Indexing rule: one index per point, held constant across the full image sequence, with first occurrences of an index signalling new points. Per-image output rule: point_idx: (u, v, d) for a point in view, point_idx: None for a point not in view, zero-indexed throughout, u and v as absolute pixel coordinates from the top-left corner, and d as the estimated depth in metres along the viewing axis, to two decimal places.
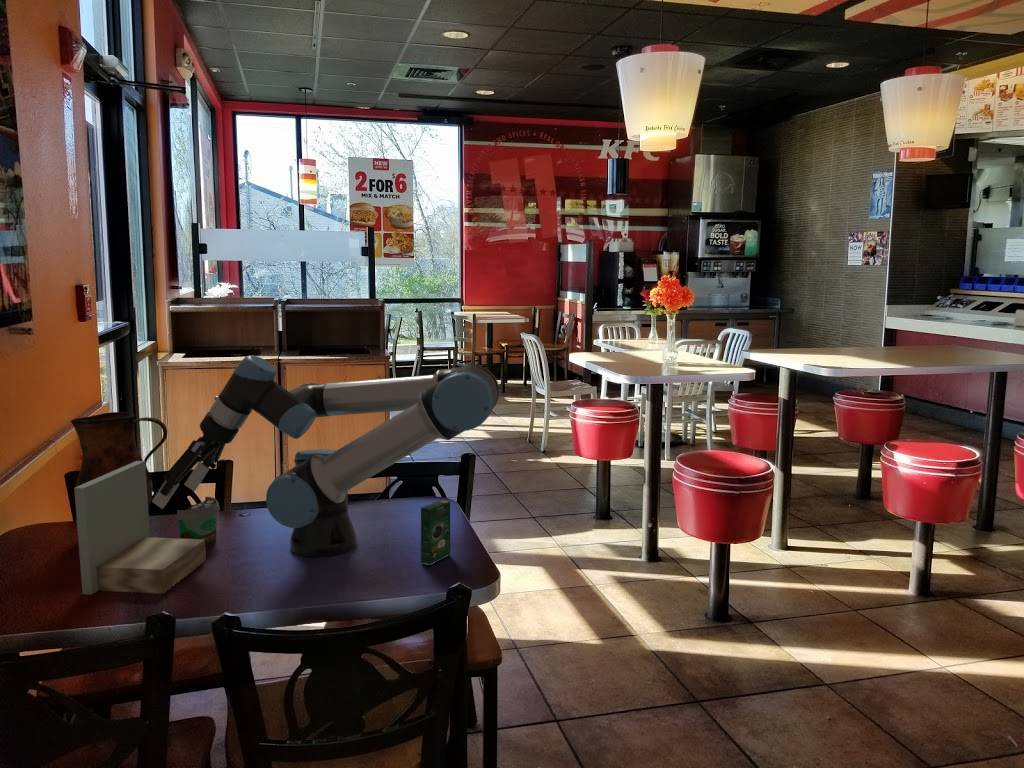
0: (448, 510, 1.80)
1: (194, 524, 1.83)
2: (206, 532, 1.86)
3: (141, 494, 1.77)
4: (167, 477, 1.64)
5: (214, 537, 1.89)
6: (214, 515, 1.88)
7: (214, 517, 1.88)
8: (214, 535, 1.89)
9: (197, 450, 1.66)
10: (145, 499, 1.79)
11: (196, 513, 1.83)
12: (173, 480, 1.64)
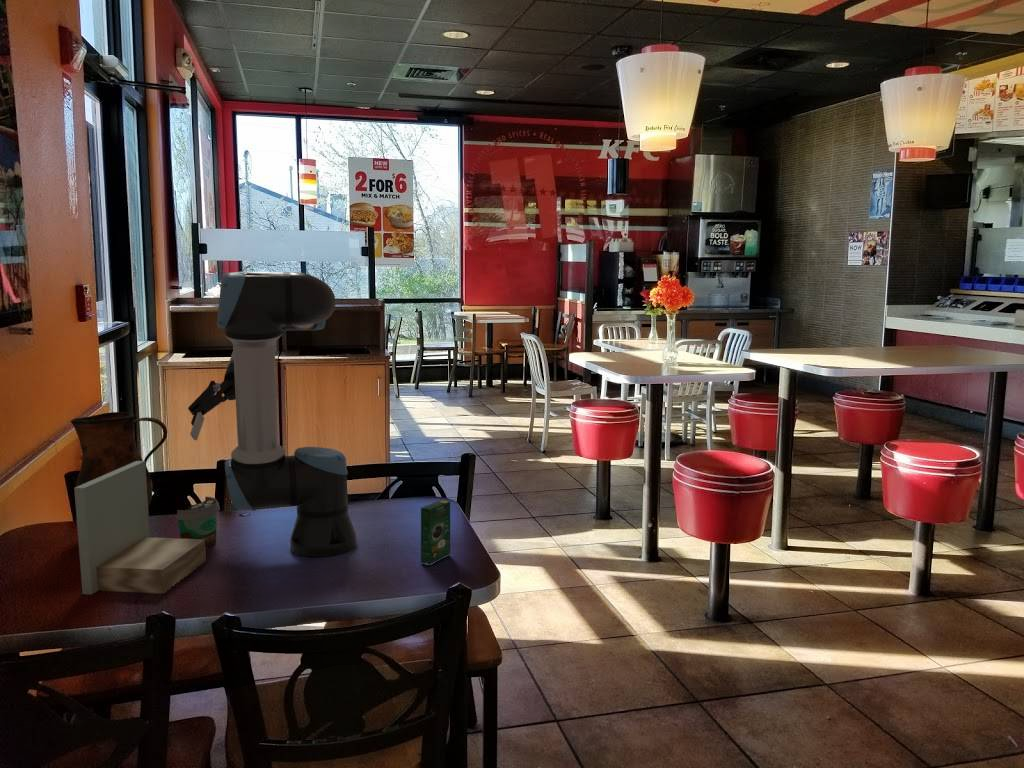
0: (448, 510, 1.80)
1: (194, 524, 1.83)
2: (206, 532, 1.86)
3: (141, 494, 1.77)
4: None
5: (214, 537, 1.89)
6: (214, 515, 1.88)
7: (214, 517, 1.88)
8: (214, 535, 1.89)
9: None
10: (145, 499, 1.79)
11: (196, 513, 1.83)
12: None
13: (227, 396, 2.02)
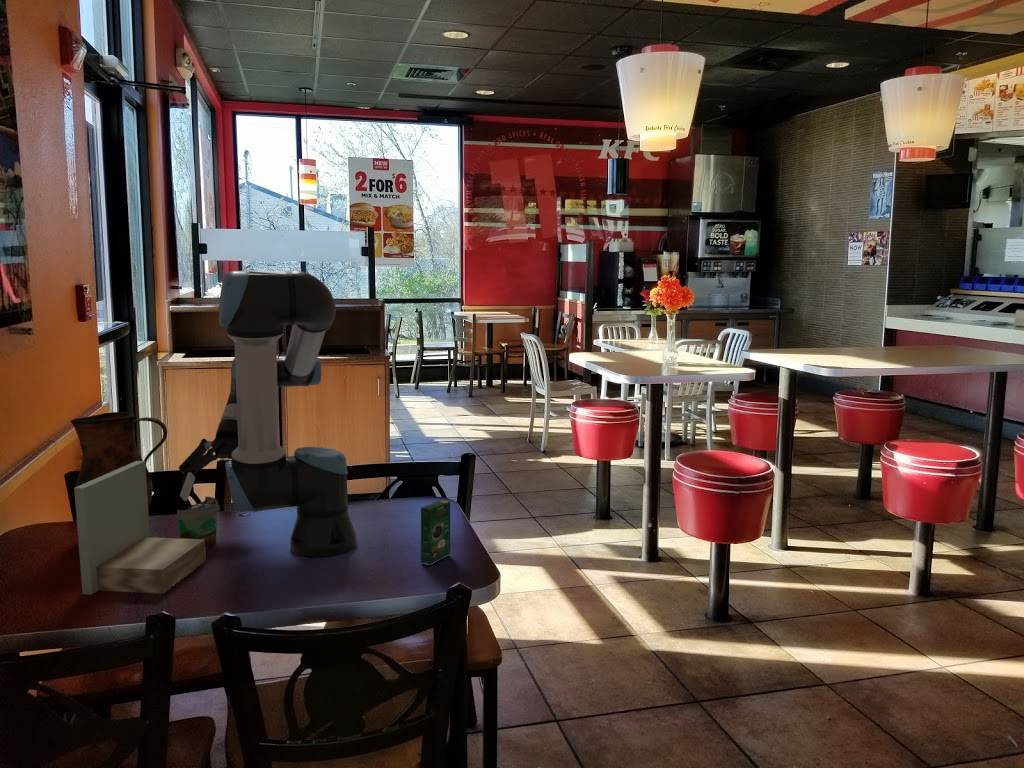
0: (448, 510, 1.80)
1: (194, 524, 1.83)
2: (206, 532, 1.86)
3: (141, 494, 1.77)
4: None
5: (214, 537, 1.89)
6: (214, 515, 1.88)
7: (214, 517, 1.88)
8: (214, 535, 1.89)
9: None
10: (145, 499, 1.79)
11: (196, 513, 1.83)
12: None
13: (218, 455, 1.99)
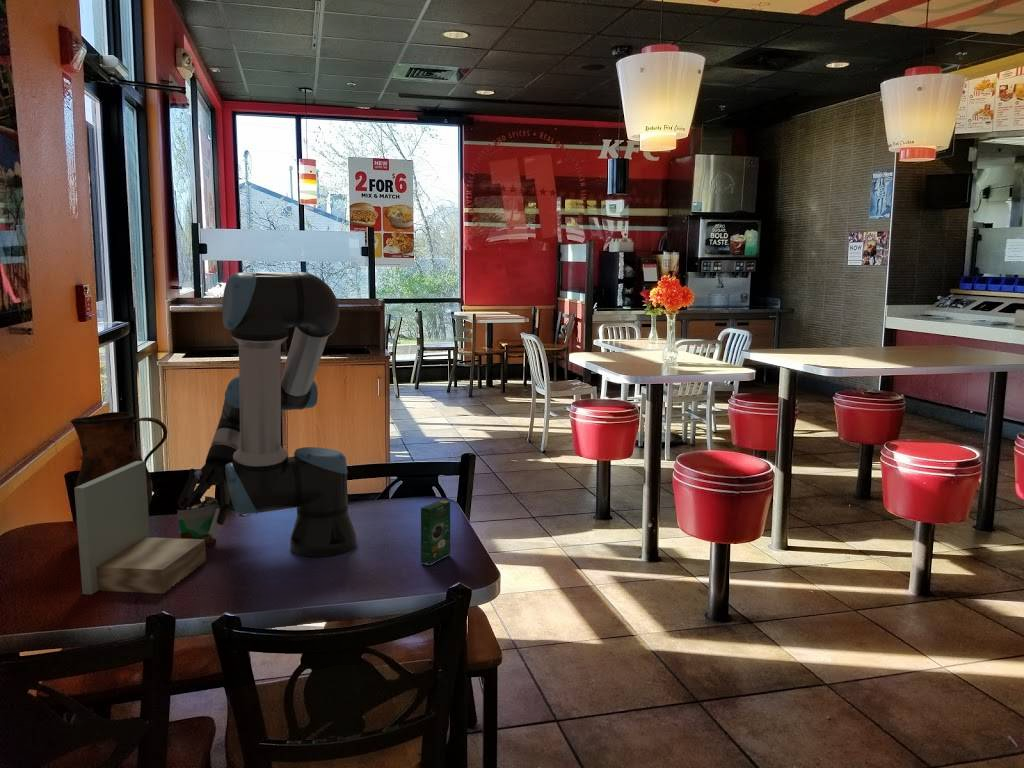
0: (448, 510, 1.80)
1: (194, 524, 1.83)
2: (206, 532, 1.86)
3: (141, 494, 1.77)
4: None
5: None
6: None
7: None
8: None
9: None
10: (145, 499, 1.79)
11: (197, 513, 1.83)
12: None
13: (208, 482, 1.92)
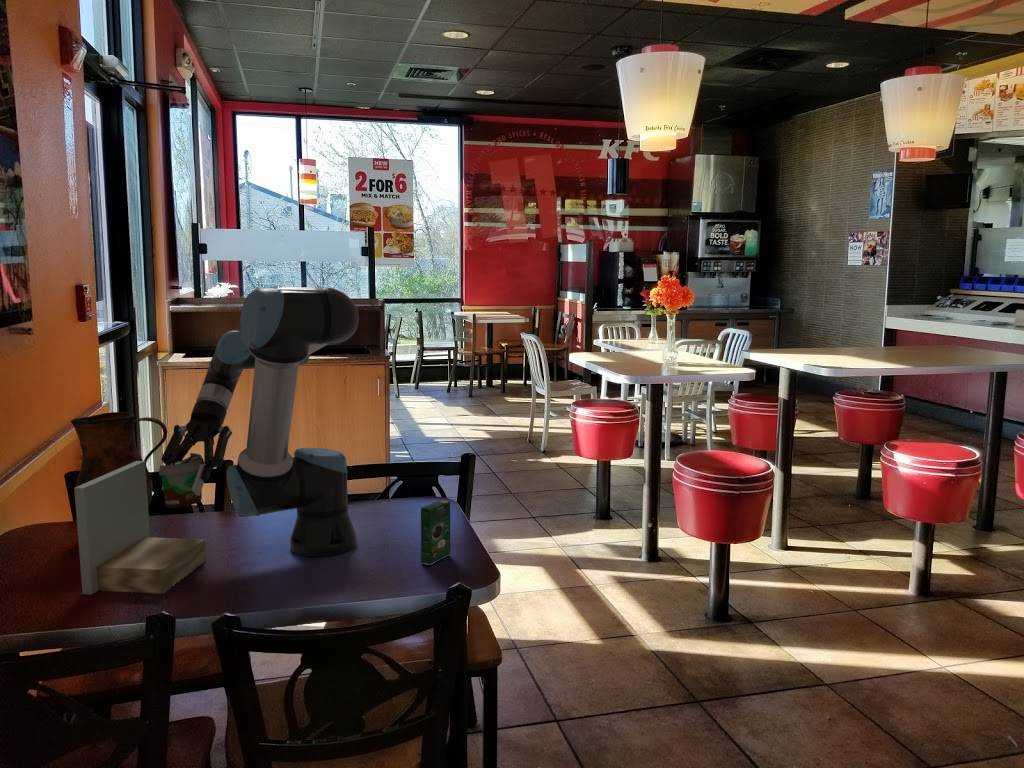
0: (448, 510, 1.80)
1: (177, 480, 1.78)
2: (190, 488, 1.80)
3: (141, 494, 1.77)
4: None
5: None
6: None
7: None
8: None
9: None
10: (145, 499, 1.79)
11: (179, 468, 1.77)
12: None
13: (193, 438, 1.87)
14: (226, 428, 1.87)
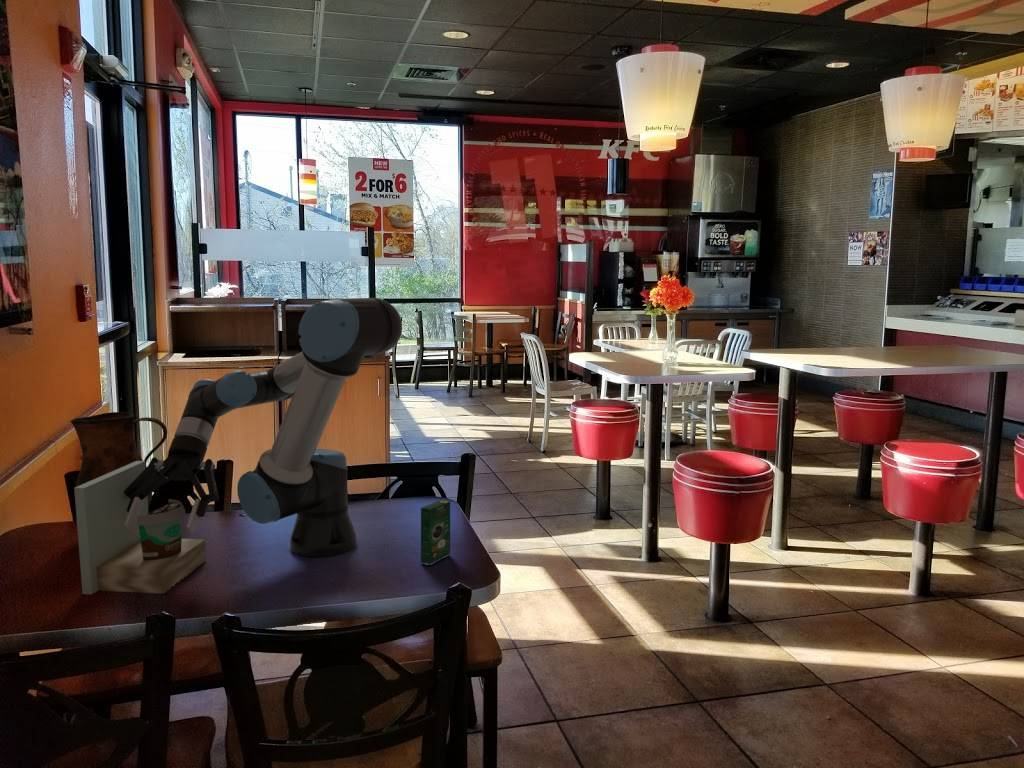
0: (448, 510, 1.80)
1: (156, 530, 1.64)
2: (170, 539, 1.66)
3: None
4: None
5: (179, 544, 1.69)
6: (179, 520, 1.68)
7: (179, 522, 1.68)
8: (179, 542, 1.69)
9: None
10: (145, 499, 1.79)
11: (159, 518, 1.63)
12: None
13: (170, 476, 1.73)
14: (209, 461, 1.74)
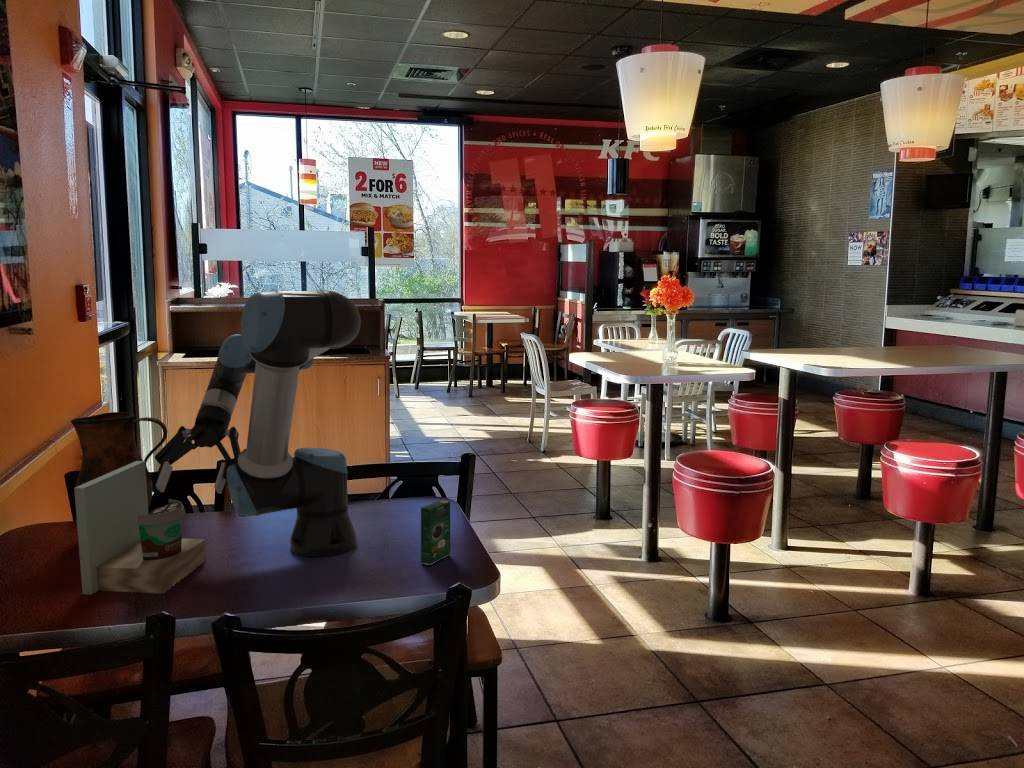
0: (448, 510, 1.80)
1: (156, 530, 1.64)
2: (170, 539, 1.66)
3: (141, 494, 1.77)
4: None
5: (179, 544, 1.69)
6: (179, 520, 1.68)
7: (179, 522, 1.68)
8: (179, 542, 1.69)
9: None
10: (145, 499, 1.79)
11: (159, 518, 1.63)
12: None
13: (197, 443, 1.85)
14: (233, 428, 1.86)
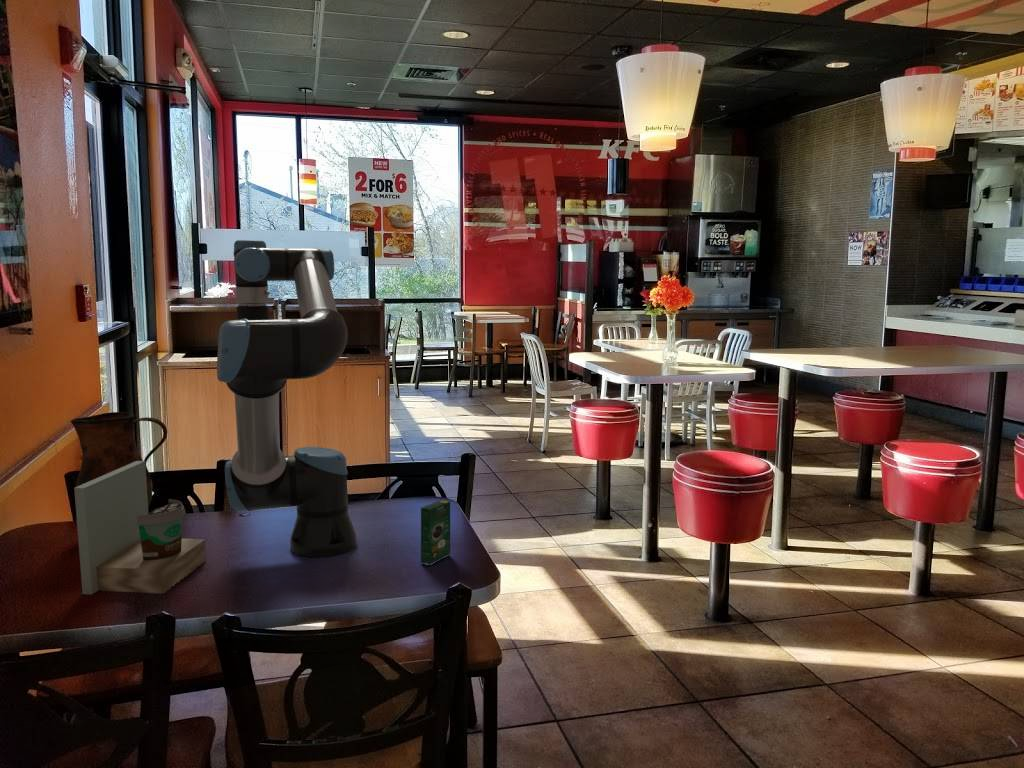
0: (448, 510, 1.80)
1: (156, 530, 1.64)
2: (170, 539, 1.66)
3: (141, 494, 1.77)
4: None
5: (179, 544, 1.69)
6: (179, 520, 1.68)
7: (179, 522, 1.68)
8: (179, 542, 1.69)
9: None
10: (145, 499, 1.79)
11: (159, 518, 1.63)
12: None
13: None
14: None
